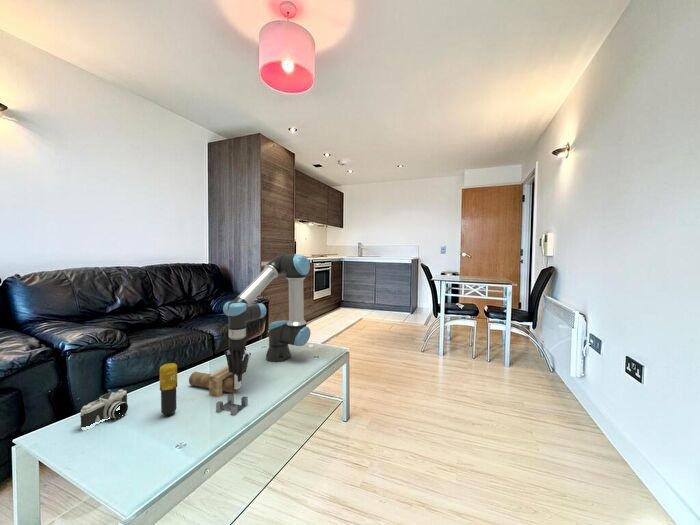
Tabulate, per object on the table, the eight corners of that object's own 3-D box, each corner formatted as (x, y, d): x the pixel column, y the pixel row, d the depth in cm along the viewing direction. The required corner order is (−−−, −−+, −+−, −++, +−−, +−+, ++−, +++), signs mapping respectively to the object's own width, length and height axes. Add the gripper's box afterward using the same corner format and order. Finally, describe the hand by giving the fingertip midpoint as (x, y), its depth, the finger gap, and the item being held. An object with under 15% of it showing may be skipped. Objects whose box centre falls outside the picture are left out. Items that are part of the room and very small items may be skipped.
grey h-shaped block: (230, 402, 120) (230, 393, 120) (247, 406, 117) (247, 396, 117) (216, 412, 112) (216, 403, 112) (234, 416, 110) (234, 406, 110)
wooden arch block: (209, 395, 126) (209, 375, 125) (228, 383, 137) (228, 365, 137) (218, 397, 124) (218, 377, 124) (236, 385, 136) (236, 367, 135)
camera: (94, 434, 99) (93, 406, 98) (75, 430, 100) (75, 403, 100) (137, 409, 114) (137, 385, 114) (120, 407, 116) (120, 383, 116)
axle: (188, 387, 133) (188, 374, 133) (199, 381, 139) (199, 369, 139) (229, 395, 126) (230, 382, 126) (239, 389, 132) (239, 376, 132)
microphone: (151, 408, 114) (150, 361, 114) (181, 411, 113) (180, 362, 112) (139, 417, 109) (138, 366, 108) (170, 419, 107) (169, 368, 107)
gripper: (219, 338, 126) (220, 389, 127) (244, 341, 122) (244, 393, 123) (231, 333, 133) (231, 382, 134) (254, 336, 129) (254, 386, 130)
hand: (237, 387), depth 128 cm, fingers closed
